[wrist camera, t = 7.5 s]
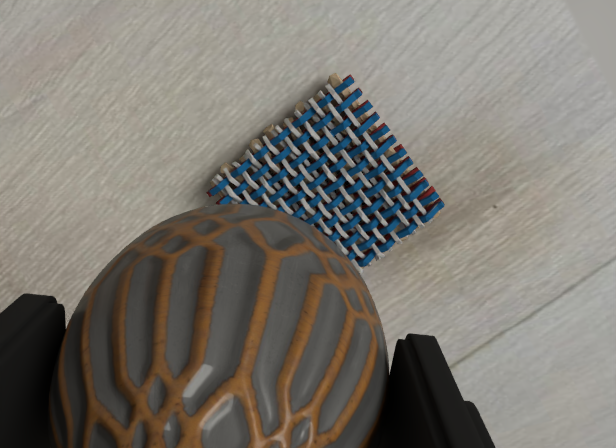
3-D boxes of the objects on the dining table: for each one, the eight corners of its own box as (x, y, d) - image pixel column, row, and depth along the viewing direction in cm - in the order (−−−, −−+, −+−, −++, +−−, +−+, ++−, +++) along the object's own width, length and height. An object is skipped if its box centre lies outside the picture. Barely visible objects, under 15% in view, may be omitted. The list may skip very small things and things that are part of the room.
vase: (243, 120, 13) (127, 253, 4) (415, 290, 14) (562, 613, 6) (81, 288, 14) (-222, 614, 6) (254, 423, 16) (199, 821, 8)
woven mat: (200, 180, 29) (193, 189, 27) (341, 63, 27) (344, 65, 25) (309, 302, 32) (309, 318, 30) (446, 204, 30) (455, 215, 28)
